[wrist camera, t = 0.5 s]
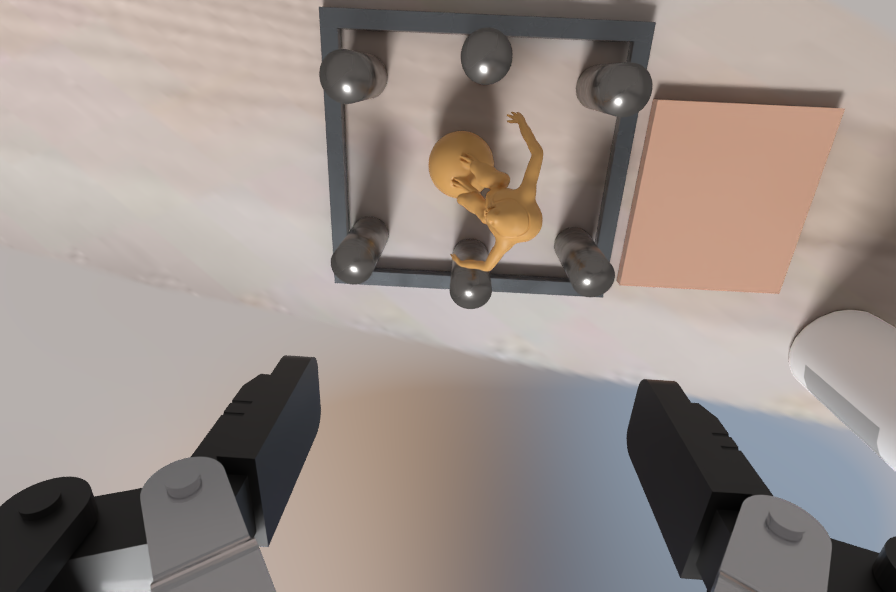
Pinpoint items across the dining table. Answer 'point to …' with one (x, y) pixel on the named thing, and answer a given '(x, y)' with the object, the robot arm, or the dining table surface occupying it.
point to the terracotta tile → (724, 194)
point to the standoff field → (485, 64)
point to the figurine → (471, 170)
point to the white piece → (852, 374)
